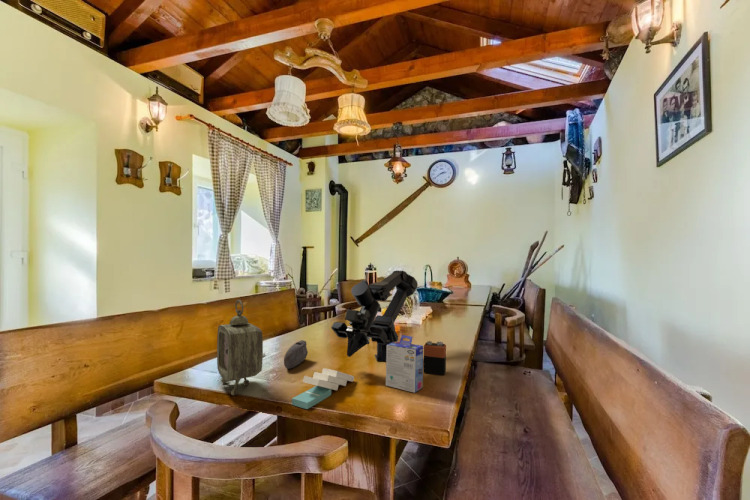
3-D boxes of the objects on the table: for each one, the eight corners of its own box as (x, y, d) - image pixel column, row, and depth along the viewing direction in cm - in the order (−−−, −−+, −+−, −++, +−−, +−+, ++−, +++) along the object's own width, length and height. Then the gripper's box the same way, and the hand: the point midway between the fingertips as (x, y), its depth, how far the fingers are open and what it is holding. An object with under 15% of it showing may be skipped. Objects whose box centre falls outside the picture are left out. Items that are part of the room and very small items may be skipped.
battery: (444, 376, 105) (444, 344, 106) (423, 373, 108) (423, 342, 108) (446, 371, 110) (446, 341, 110) (425, 369, 112) (425, 339, 112)
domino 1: (324, 381, 96) (304, 375, 88) (338, 384, 93) (319, 379, 86) (322, 387, 95) (302, 382, 87) (337, 390, 93) (317, 386, 85)
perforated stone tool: (292, 373, 107) (292, 351, 107) (277, 371, 108) (277, 350, 108) (310, 358, 122) (311, 339, 122) (297, 357, 123) (297, 339, 123)
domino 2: (316, 385, 93) (291, 398, 84) (331, 388, 90) (307, 402, 82) (316, 391, 93) (291, 405, 84) (331, 395, 90) (307, 409, 82)
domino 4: (340, 373, 103) (323, 367, 95) (354, 376, 100) (337, 370, 93) (339, 378, 102) (321, 373, 94) (353, 382, 100) (335, 377, 92)
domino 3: (333, 377, 99) (314, 371, 92) (347, 380, 97) (329, 374, 89) (331, 383, 99) (312, 377, 91) (345, 386, 96) (327, 381, 88)
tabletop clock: (216, 382, 98) (217, 298, 99) (247, 376, 104) (249, 296, 104) (228, 399, 87) (230, 304, 87) (263, 391, 92) (264, 301, 93)
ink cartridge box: (424, 387, 96) (424, 337, 96) (415, 393, 92) (416, 341, 92) (394, 380, 102) (394, 332, 102) (385, 386, 97) (385, 336, 97)
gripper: (335, 297, 112) (312, 337, 102) (383, 302, 102) (364, 346, 93) (348, 317, 118) (328, 356, 109) (394, 323, 109) (378, 366, 99)
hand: (348, 356), depth 102 cm, fingers closed
